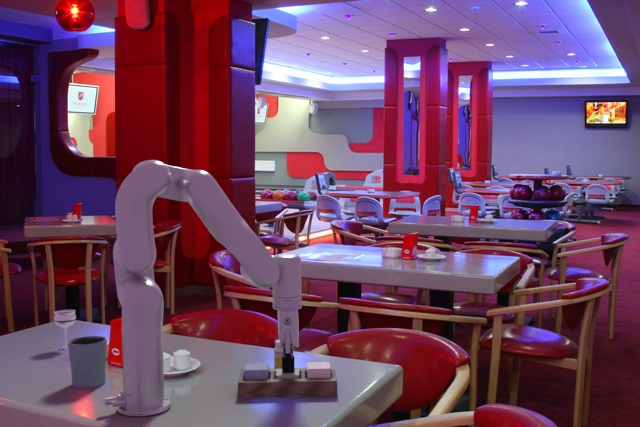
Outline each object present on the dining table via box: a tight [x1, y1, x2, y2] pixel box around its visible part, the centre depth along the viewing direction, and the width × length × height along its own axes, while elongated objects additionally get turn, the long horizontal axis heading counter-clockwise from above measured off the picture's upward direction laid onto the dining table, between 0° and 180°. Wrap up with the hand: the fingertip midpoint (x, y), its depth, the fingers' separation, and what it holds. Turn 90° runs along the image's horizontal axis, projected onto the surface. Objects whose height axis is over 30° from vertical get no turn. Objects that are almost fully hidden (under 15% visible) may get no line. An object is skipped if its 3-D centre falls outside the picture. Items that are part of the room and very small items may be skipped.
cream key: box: [306, 361, 331, 378], centre depth 187 cm, size 6×6×4 cm
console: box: [237, 366, 338, 399], centre depth 187 cm, size 25×12×4 cm, turn 92°
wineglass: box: [53, 308, 77, 348], centre depth 232 cm, size 7×7×12 cm
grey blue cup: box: [67, 335, 108, 390], centre depth 194 cm, size 10×10×12 cm
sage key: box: [276, 369, 299, 379], centre depth 187 cm, size 6×6×4 cm
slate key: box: [244, 362, 270, 380], centre depth 187 cm, size 6×6×4 cm
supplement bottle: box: [273, 339, 283, 369], centre depth 206 cm, size 5×5×8 cm
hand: (288, 371), depth 187 cm, fingers closed
